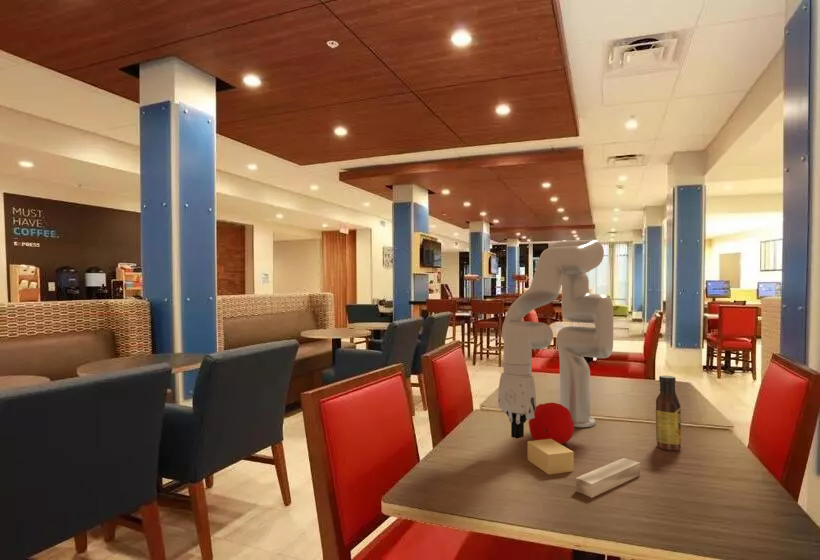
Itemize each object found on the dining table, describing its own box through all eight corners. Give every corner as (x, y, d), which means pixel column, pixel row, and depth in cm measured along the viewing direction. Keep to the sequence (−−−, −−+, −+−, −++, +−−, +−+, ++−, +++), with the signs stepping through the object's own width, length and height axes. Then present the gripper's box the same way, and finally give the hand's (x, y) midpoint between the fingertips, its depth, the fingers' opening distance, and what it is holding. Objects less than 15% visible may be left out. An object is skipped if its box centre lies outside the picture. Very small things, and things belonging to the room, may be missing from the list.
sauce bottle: (684, 452, 129) (684, 379, 129) (660, 450, 130) (659, 378, 131) (676, 444, 136) (676, 374, 136) (652, 443, 137) (652, 374, 137)
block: (527, 460, 125) (527, 441, 125) (551, 457, 126) (551, 438, 126) (548, 475, 115) (548, 454, 115) (573, 472, 117) (573, 451, 117)
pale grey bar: (575, 491, 105) (575, 477, 106) (624, 469, 117) (624, 457, 117) (592, 497, 102) (592, 484, 102) (639, 475, 114) (639, 462, 114)
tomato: (548, 462, 130) (565, 449, 141) (574, 428, 126) (589, 418, 137) (513, 429, 137) (531, 419, 148) (536, 396, 133) (554, 388, 144)
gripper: (487, 367, 133) (487, 432, 133) (530, 375, 121) (530, 447, 121) (506, 364, 137) (506, 427, 137) (548, 372, 125) (549, 441, 125)
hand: (517, 436), depth 129 cm, fingers closed
